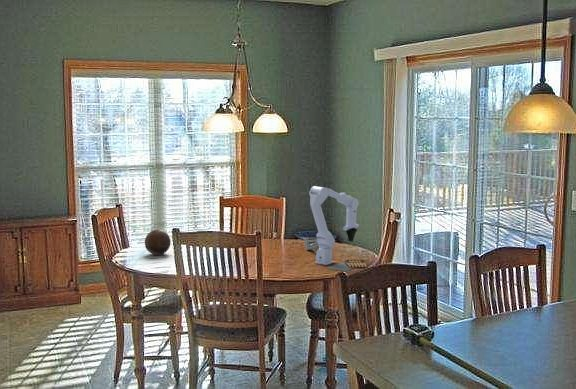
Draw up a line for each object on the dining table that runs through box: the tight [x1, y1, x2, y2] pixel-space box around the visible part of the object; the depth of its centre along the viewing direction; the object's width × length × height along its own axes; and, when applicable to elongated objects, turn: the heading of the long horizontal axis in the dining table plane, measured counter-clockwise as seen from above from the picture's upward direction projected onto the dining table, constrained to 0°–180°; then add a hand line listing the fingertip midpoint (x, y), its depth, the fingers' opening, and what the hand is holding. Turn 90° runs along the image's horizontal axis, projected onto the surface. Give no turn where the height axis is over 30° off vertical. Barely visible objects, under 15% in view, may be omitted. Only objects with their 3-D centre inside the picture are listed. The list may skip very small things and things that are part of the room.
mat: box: [326, 262, 359, 272], centre depth 364 cm, size 17×12×1 cm
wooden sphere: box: [144, 229, 171, 256], centre depth 392 cm, size 15×15×15 cm
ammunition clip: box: [344, 259, 368, 268], centre depth 367 cm, size 11×2×12 cm
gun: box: [304, 238, 319, 254], centre depth 402 cm, size 3×25×15 cm, turn 19°
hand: (350, 241), depth 385 cm, fingers closed
